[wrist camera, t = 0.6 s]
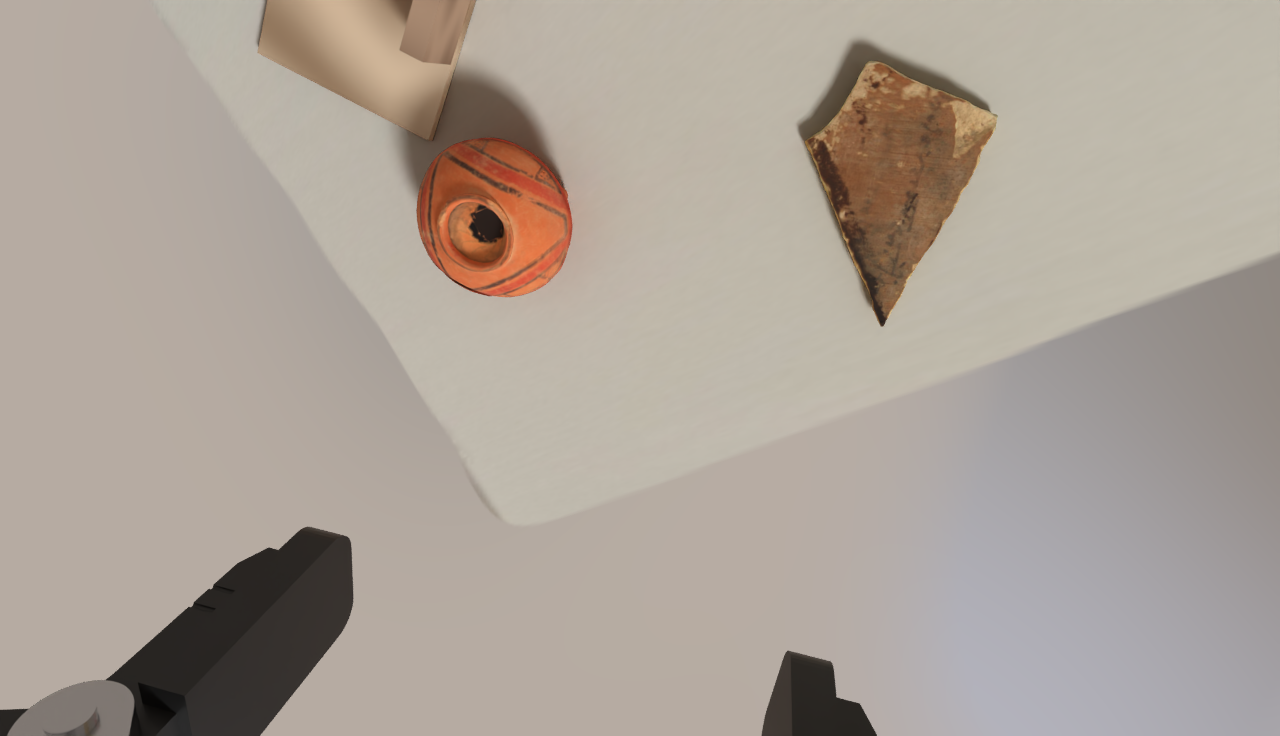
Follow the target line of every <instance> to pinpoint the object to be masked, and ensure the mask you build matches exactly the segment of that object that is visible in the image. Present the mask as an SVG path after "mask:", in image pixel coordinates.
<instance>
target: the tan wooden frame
mask: <svg viewBox="0 0 1280 736" xmlns="http://www.w3.org/2000/svg"><path fill="white" fill-rule="evenodd" d="M475 2H476V0H267V5H266V10H265V16H264V21H263V26H262V32H261V37H260V42H259V48H258V53H259V54H261V55H263V56H265V57H266V58H268V59H270V60H272V61H274V62H276V63H278V64H280V65H282V66H284V67H286V68H288V69H290V70H292V71H294V72H296V73H298V74H299V75H301V76H303V77H305V78H307V79H309V80H311V81H313V82H315V83H317V84H319V85H321V86H323V87H325V88H327V89H329V90H331V91H332V92H334V93H336V94H338V95H340V96H342V97H344V98H346V99H348V100H350V101H352V102H354V103H356V104H358V105H360V106H362V107H364V108H365V109H367V110H369V111H371V112H373V113H375V114H377V115H379V116H381V117H383V118H385V119H387V120H389V121H391V122H393V123H395V124H397V125H398V126H400V127H402V128H404V129H406V130H408V131H410V132H412V133H414V134H416V135H418V136H420V137H422V138H424V139H426V140H428V141H431V140H433V137H434V134H435V131H436V128H437V125H438V121H439V118H440V115H441V112H442V109H443V105H444V102H445V99H446V96H447V92H448V89H449V86H450V83H451V80H452V76H453V73H454V70H455V67H456V63H457V60H458V57H459V54H460V51H461V47H462V44H463V41H464V38H465V34H466V31H467V28H468V25H469V22H470V18H471V15H472V12H473V9H474V6H475Z"/></svg>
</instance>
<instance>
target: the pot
mask: <svg viewBox="0 0 1280 736" xmlns="http://www.w3.org/2000/svg"><path fill="white" fill-rule="evenodd" d="M567 198H568V194H567V191H566V190H565V189H564V188H562V187H561V185H560V183H559V182H558V180H557V179H556V177H555V176H554V175H553V173H552V172H551V171H550V169H549V168H548V167H547V166H546V165H545V164H544V163H543V162H542V161H541V160H540V159H539V158H538V157H536V156H535V155H534V154H532V153H531V152H529V151H528V150H526V149H524V148H522V147H520V146H518V145H516V144H514V143H511V142H509V141H505V140H502V139H497V138H480V139H472V140H466V141H463V142H460V143H457V144H454V145H452V146H450V147H449V148H447V149H446V150H444V151H443V152H442V153H440V154H439V155H438V156H437V157H436V158H435V160H434V161H433V162H432V163H431V165H430V166H429V168H428V170H427V172H426V174H425V177H424V179H423V181H422V184H421V186H420V190H419V195H418V201H417V222H418V228H419V232H420V236H421V239H422V242H423V244H424V247H425V249H426V251H427V253H428V255H429V257H430V258H431V260H432V261H433V263H434V264H435V265H436V266H437V267H438V268H439V269H440V270H441V271H443V272H444V273H445V275H447V276H448V277H449V278H450V279H451V280H452V281H454V282H455V283H457V284H458V285H460V286H461V287H463V288H465V289H467V290H469V291H472V292H475V293H478V294H482V295H486V296H498V297H514V296H520V295H524V294H527V293H530V292H533V291H535V290H537V289H539V288H541V287H542V286H544V285H545V284H546V283H548V282H549V281H550V280H551V279H552V278H553V277H554V276H555V275H556V274H557V273H558V271H559V270H560V269H561V267H562V265H563V263H564V260H565V258H566V254H567V251H568V248H569V245H570V240H571V235H572V218H571V211H570V207H569V203H568V200H567Z"/></svg>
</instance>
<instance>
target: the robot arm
mask: <svg viewBox="0 0 1280 736" xmlns="http://www.w3.org/2000/svg"><path fill="white" fill-rule="evenodd" d="M352 606H353V577H352V552H351V542H350V539H349V538H348V537H347V536H344V535H340V534H336V533H332V532H328V531H324V530H320V529H316V528H312V527H305V528H303V529H301V530H300V531H299V532H297V533H296V534H295V535H294V536H293V537H292V538H291V539H290V540H289V541H288V542H287V543H286V544H284V545H283V546H282V547H281V548H280V549H279V550H276V549H272V548H267V549H265V550H263V551H261V552H259V553H257V554H255V555H253V556H251V557H249V558H247V559H245V560H243V561H241V562H239V563H237V564H236V565H235V566H234V567H233V568H232V569H231V570H230V571H229V572H227V573H226V574H225V575H224V576H223V577H222V578H221V579H219V580H218V581H217V582H216V583H215V584H214V586H213V588H212V589H208V590H207V591H206V592H205V593H204V594H203V595H201V596H200V597H199V598H198V599H197V600H196V601H195V602H194V604H193V606H192V607H188V608H187V609H186V610H185V611H184V612H182V613H181V614H180V615H179V616H178V617H177V618H176V619H174V620H173V621H172V622H171V623H170V624H169V625H168V626H167V627H166V628H164V629H163V630H162V631H161V632H160V633H159V634H158V635H157V636H155V637H154V638H153V639H152V640H151V641H150V642H149V643H148V644H146V645H145V646H144V647H143V648H142V649H141V650H140V651H139V652H137V653H136V654H135V655H134V656H133V657H132V658H131V659H130V660H128V661H127V662H126V663H125V664H124V665H123V666H122V667H121V668H119V669H118V670H117V671H116V672H115V673H114V674H113V675H111V676H110V677H109V678H108V679H106V680H97V681H88V682H83V683H79V684H76V685H72V686H69V687H66V688H64V689H61V690H59V691H57V692H55V693H53V694H51V695H49V696H47V697H45V698H44V699H42V700H40V701H39V702H37V703H36V704H35V705H33V706H32V707H30V708H29V709H13V710H0V736H260V735H261V733H262V732H263V731H264V730H265V728H266V727H267V726H268V725H269V723H270V722H271V721H272V720H273V719H274V717H275V716H276V715H277V713H278V712H279V711H280V710H281V708H282V707H283V706H284V705H285V703H286V702H287V701H288V699H289V698H290V697H291V696H292V695H293V693H294V692H295V691H296V689H297V688H298V687H299V686H300V684H301V683H302V682H303V681H304V679H305V678H306V677H307V676H308V674H309V673H310V672H311V671H312V669H313V668H314V667H315V666H316V664H317V663H318V662H319V661H320V659H321V658H322V657H323V655H324V654H325V653H326V652H327V650H328V649H329V648H330V647H331V645H332V644H333V643H334V642H335V640H336V639H337V638H338V636H339V635H340V634H341V632H342V631H343V629H344V627H345V625H346V624H347V621H348V619H349V616H350V613H351V610H352ZM762 736H877V734H876V733H875V731H874V729H873V727H872V725H871V723H870V722H869V720H868V718H867V716H866V714H865V713H864V711H863V709H862V707H861V705H860V704H859V703H855V702H852V701H847V700H844V699H840V698H836V688H835V678H834V669H833V665H832V663H831V662H830V661H826V660H822V659H818V658H815V657H810V656H807V655H803V654H799V653H795V652H791V651H787V652H786V654H785V656H784V659H783V661H782V665H781V668H780V671H779V674H778V677H777V680H776V683H775V686H774V689H773V692H772V695H771V699H770V702H769V705H768V708H767V711H766V715H765V719H764V725H763V730H762Z"/></svg>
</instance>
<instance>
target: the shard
mask: <svg viewBox="0 0 1280 736" xmlns="http://www.w3.org/2000/svg"><path fill="white" fill-rule="evenodd" d="M997 117H998V116H997V115H996V114H993V113H991V112H989V111H987V110H985V109H981V108H979V107H977V106H974V105H973V104H971V103H970V102H968V101H967V100H964V99H962V98H959V97H956V96H954V95H952V94H949V93H947V92H944V91H941V90H938V89H935V88H932V87H930V86H928V85H925V84H922V83H920V82H917V81H916V80H914V79H910V78H908V77H907V76H905V75H903V74H902V73H899V72H897V71H896V70H895V69H893V68H892V67H890V66H889V65H887V64H884V63H882V62H879V61H876V62H874V61H869V62H867V63H866V65H865V67H864V68H863V70H862V72H861V73H860V75H859V77H858V80H857V82H856V84H855V86H854V88H853V89H852V91H851V93H850V94H849V96H848V97H847V99H846V101H845V103H844V104H843V106H842V108H841V109H840V111H839V112H838V114H837V115H836V116H835V117H834V118H833V119H832V120H831V122H830V123H829V124H828V125H827V126H826V127H825V128H823V129H822V130H821V131H820V132H818V133H816V134H815V135H814V136H812V137H810V138H808V139H807V140H806V141H805V144H806V146H807V148H808V150H809V151H810V153H811V154H812V158H813V160H814V162H815V164H816V166H817V170H818V172H819V175H820V179H821V181H822V183H823V186H824V189H825V190H826V193H827V195H828V198H829V199H830V202H831V204H832V206H833V209H834V211H835V215H836V217H837V219H838V222H839V224H840V228H841V231H842V237H843V238H844V240H845V241H846V243H847V247H848V250H849V252H850V254H851V257H852V259H853V262H854V265H855V266H856V268H857V270H858V272H859V274H860V276H861V278H862V280H863V282H864V284H865V286H866V288H867V289H868V291H869V294H870V297H871V299H872V308H873V311H874V312H875V315H876V318H877V320H878V322H879V324H880V325H881V327H882V326H884V324H885V321H886V320H887V318H888V317H889V315H890V313H891V311H892V309H893V308H894V306H895V305H896V303H897V301H898V300H899V298H900V297H901V294H902V292H903V290H904V288H905V285H906V283H907V280H908V279H909V278H910V277H911V275H912V273H913V271H914V270H915V268H916V266H917V265H918V263H919V261H920V260H921V258H922V257H923V255H924V253H925V252H926V251H927V250H928V249H929V248H930V246H931V245H932V244H933V242H934V241H935V239H936V237H937V235H938V234H939V232H940V230H941V228H942V226H943V224H944V223H945V221H946V219H947V218H948V217H949V216H950V214H951V213H952V212H953V209H954V208H955V206H956V204H957V202H958V201H959V198H960V194H961V193H962V192H963V190H964V188H965V187H966V186H967V185H968V183H969V181H970V178H971V176H972V175H973V173H974V171H975V169H976V167H977V165H978V163H979V162H980V153H981V151H982V149H983V148H984V146H985V145H986V143H987V142H988V140H989V139H990V137H991V136H992V134H993V132H994V130H995V128H996V121H997Z"/></svg>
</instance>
